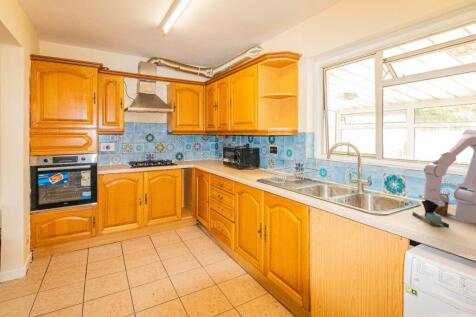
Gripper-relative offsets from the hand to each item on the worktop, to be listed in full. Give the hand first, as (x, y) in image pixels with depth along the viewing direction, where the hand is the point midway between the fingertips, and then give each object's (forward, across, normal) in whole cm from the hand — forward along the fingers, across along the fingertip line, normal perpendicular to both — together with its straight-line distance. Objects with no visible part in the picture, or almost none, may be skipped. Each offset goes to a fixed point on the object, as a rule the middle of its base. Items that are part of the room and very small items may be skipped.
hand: (428, 216), depth 118 cm
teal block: (+2, +3, 0) cm, 4 cm away
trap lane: (+2, +1, 0) cm, 2 cm away
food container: (+2, -14, +14) cm, 20 cm away
